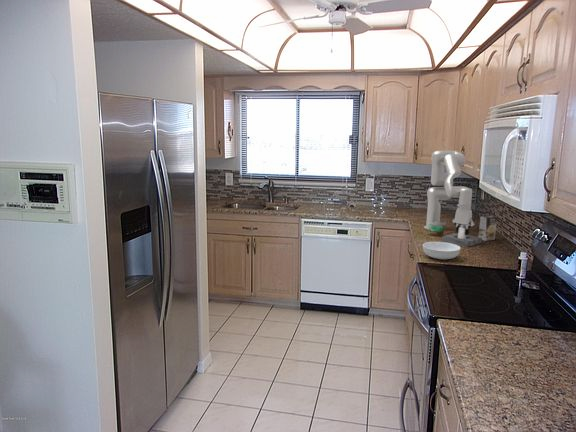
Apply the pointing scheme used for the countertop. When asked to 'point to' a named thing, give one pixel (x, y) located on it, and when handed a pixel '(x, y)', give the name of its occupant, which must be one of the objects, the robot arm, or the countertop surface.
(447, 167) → the robot arm
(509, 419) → the countertop surface
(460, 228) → the eye dropper bottle
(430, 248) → the serving bowl
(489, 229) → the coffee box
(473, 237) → the holder block
